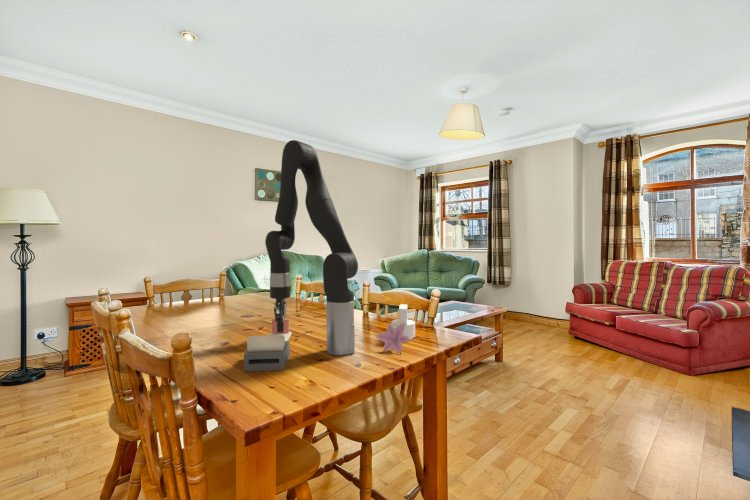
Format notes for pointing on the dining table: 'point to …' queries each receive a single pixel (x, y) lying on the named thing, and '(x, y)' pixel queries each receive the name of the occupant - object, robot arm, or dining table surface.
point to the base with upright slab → (409, 325)
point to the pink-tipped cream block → (285, 327)
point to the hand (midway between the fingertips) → (280, 331)
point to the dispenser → (266, 353)
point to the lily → (393, 337)
